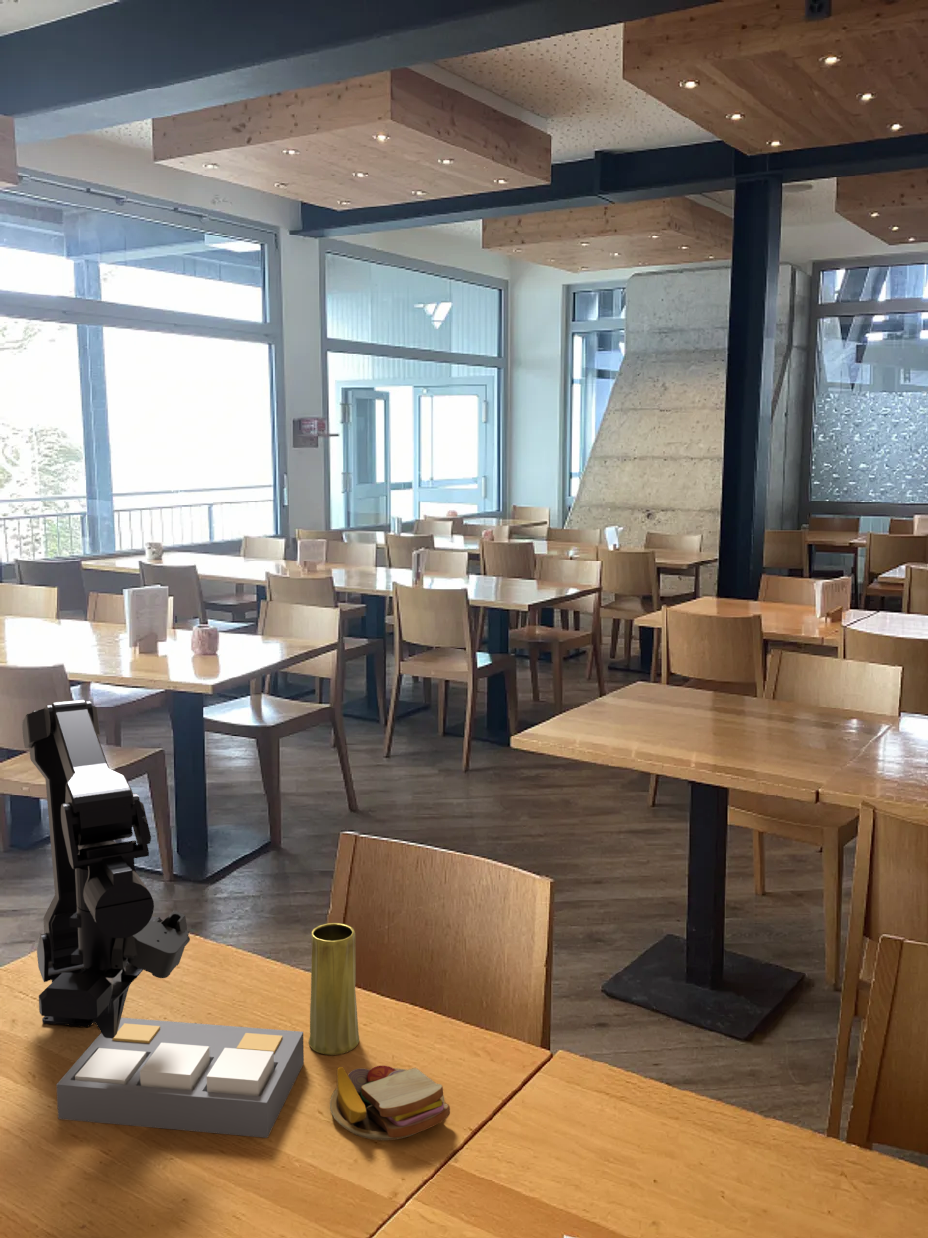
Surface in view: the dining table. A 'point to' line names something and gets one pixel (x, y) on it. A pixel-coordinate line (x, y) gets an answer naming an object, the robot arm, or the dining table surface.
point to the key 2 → (241, 1072)
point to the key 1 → (111, 1066)
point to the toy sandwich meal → (387, 1102)
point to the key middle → (175, 1066)
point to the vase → (333, 990)
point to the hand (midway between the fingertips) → (110, 1036)
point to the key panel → (177, 1104)
